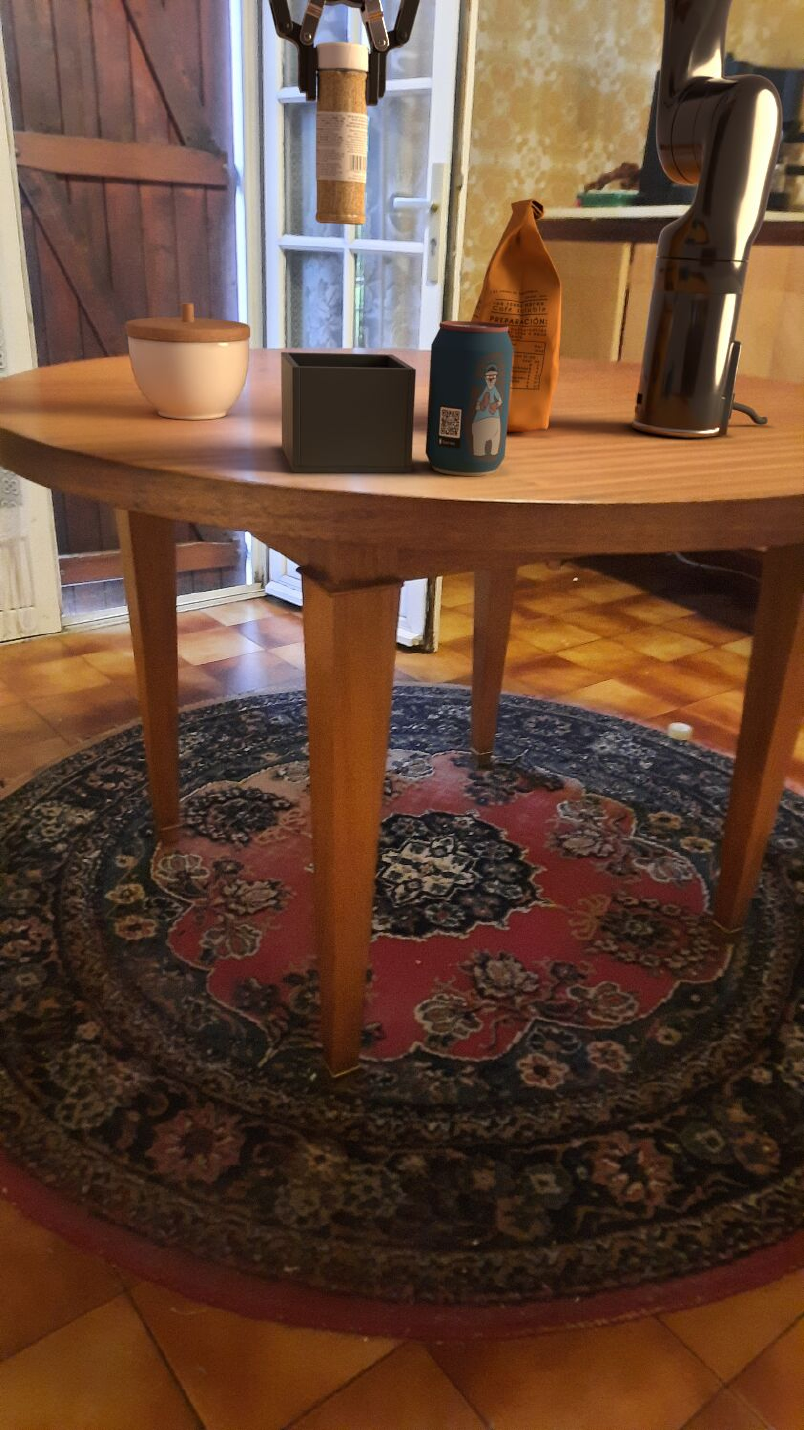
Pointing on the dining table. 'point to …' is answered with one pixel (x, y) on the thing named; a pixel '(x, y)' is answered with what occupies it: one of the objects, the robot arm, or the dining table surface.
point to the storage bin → (347, 412)
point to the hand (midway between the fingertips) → (341, 102)
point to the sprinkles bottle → (341, 132)
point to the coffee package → (525, 315)
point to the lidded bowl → (189, 363)
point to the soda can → (469, 397)
